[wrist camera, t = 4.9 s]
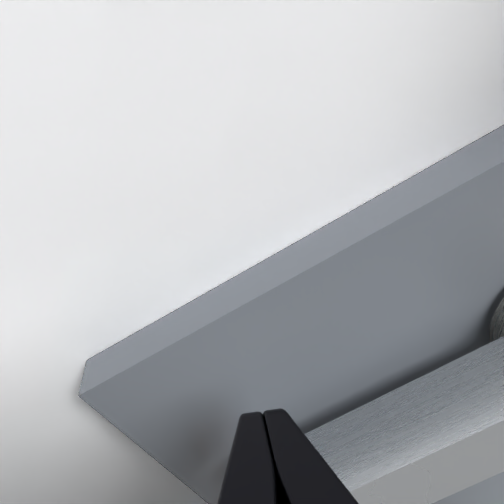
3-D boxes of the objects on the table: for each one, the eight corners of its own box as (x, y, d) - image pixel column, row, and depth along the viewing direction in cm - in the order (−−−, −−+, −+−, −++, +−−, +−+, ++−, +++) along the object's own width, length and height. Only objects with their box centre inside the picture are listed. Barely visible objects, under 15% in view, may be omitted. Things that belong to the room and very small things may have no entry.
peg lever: (640, 209, 10) (753, 264, 8) (652, 326, 12) (745, 392, 10) (155, 457, 12) (150, 551, 10) (234, 523, 14) (243, 612, 12)
